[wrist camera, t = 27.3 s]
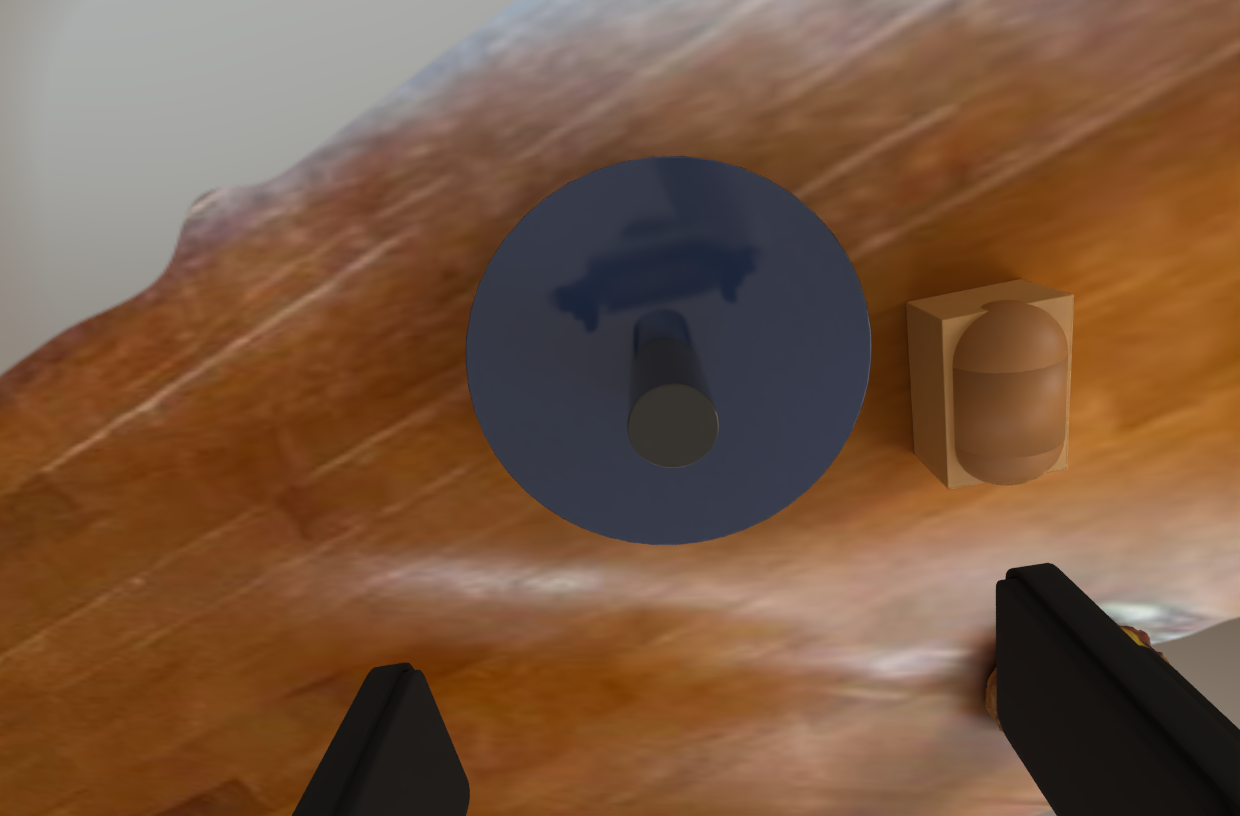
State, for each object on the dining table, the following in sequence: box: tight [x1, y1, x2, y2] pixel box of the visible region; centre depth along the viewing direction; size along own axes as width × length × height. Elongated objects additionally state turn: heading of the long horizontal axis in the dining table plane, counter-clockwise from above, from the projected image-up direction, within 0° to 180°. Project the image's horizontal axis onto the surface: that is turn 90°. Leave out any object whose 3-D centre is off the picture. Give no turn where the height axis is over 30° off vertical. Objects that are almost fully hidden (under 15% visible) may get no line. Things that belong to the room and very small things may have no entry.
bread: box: [906, 279, 1074, 489], centre depth 29 cm, size 9×6×6 cm, turn 12°
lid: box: [466, 156, 871, 545], centre depth 24 cm, size 17×17×7 cm
